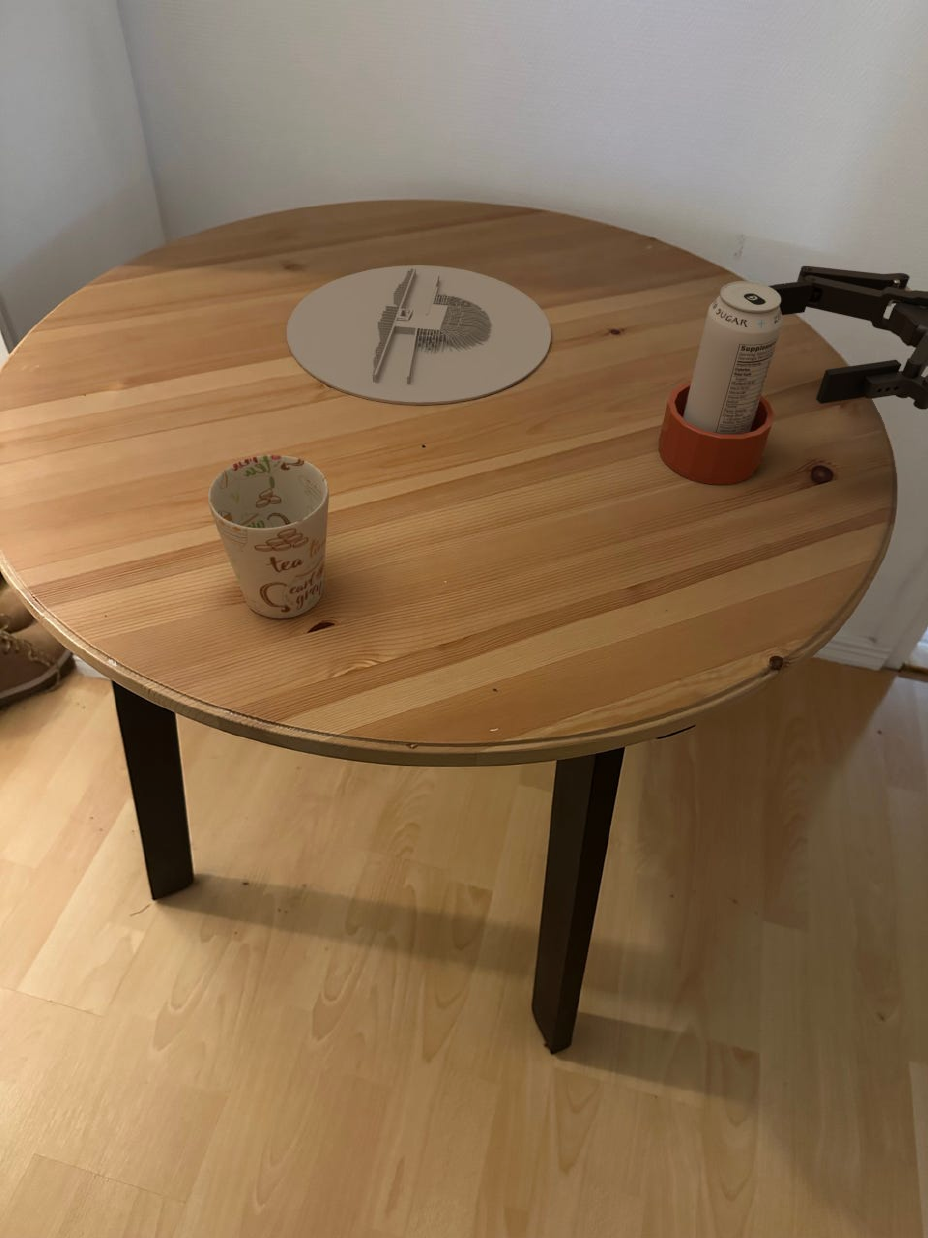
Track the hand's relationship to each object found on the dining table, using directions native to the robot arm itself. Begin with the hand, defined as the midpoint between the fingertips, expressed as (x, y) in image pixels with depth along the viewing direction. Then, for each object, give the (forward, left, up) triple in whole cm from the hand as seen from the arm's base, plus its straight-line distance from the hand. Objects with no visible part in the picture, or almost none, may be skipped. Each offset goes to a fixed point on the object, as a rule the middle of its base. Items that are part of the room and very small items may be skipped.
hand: (780, 343), depth 81 cm
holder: (+2, +4, -11) cm, 12 cm away
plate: (+36, +8, -11) cm, 38 cm away
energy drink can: (+2, +4, -10) cm, 11 cm away
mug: (+17, +42, -11) cm, 46 cm away
